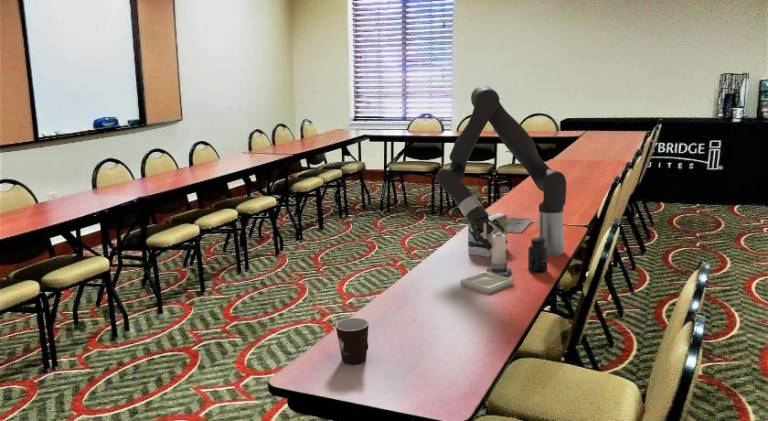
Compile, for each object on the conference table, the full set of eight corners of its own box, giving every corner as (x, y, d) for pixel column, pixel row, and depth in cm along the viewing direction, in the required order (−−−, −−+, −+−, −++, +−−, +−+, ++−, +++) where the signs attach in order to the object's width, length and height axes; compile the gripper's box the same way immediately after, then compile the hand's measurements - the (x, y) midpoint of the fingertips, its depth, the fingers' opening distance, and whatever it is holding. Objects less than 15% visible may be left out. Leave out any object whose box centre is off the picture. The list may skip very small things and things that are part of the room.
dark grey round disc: (497, 267, 242) (496, 257, 241) (516, 272, 235) (516, 261, 234) (481, 273, 236) (481, 262, 235) (501, 278, 229) (500, 267, 228)
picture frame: (497, 221, 314) (484, 232, 295) (497, 216, 314) (484, 226, 295) (531, 223, 307) (520, 234, 288) (531, 217, 307) (520, 228, 288)
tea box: (489, 257, 254) (489, 221, 251) (467, 254, 260) (466, 218, 257) (507, 248, 266) (507, 213, 263) (485, 245, 272) (485, 210, 269)
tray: (484, 276, 232) (484, 271, 232) (512, 284, 223) (512, 278, 222) (460, 285, 224) (460, 280, 224) (489, 293, 215) (488, 288, 214)
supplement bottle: (547, 274, 232) (548, 241, 229) (528, 273, 233) (528, 241, 231) (547, 268, 238) (547, 236, 236) (528, 267, 240) (528, 236, 237)
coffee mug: (337, 354, 175) (335, 319, 173) (369, 351, 176) (367, 316, 174) (338, 373, 164) (335, 336, 162) (372, 371, 164) (370, 334, 162)
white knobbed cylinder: (497, 259, 238) (497, 230, 236) (508, 262, 234) (508, 233, 232) (489, 262, 235) (488, 233, 232) (499, 265, 231) (499, 236, 229)
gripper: (465, 208, 232) (491, 244, 226) (491, 201, 241) (516, 236, 235) (455, 220, 237) (479, 256, 231) (480, 213, 246) (504, 248, 240)
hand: (498, 246), depth 233 cm, fingers open, 8 cm apart
